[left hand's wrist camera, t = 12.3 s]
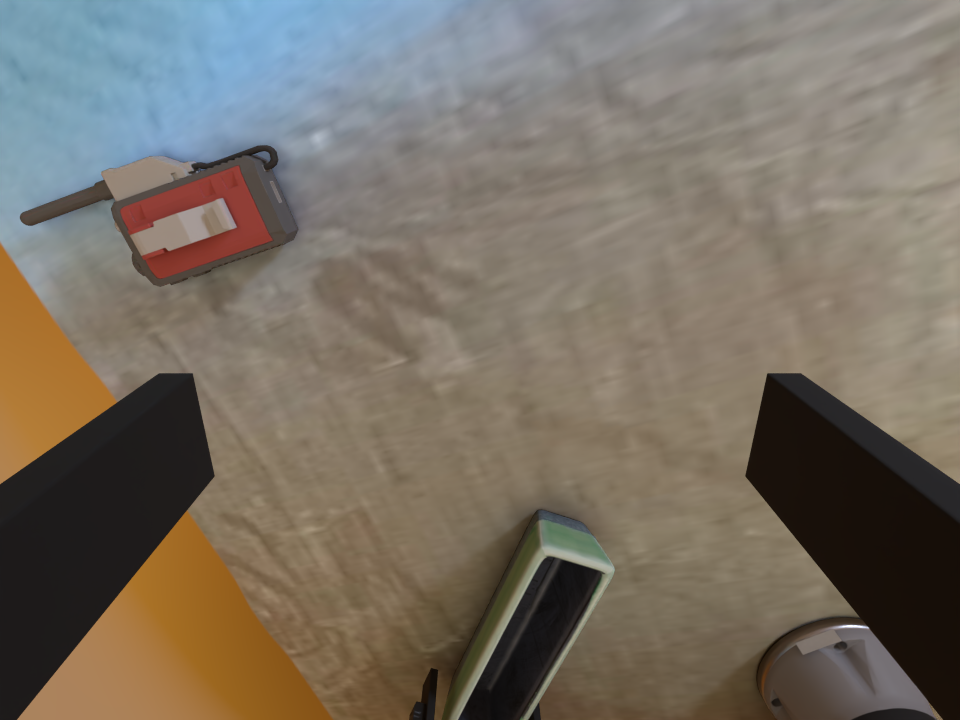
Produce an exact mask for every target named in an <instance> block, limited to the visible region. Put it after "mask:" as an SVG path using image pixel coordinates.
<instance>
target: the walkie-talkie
mask: <svg viewBox="0 0 960 720" xmlns="http://www.w3.org/2000/svg"><path fill="white" fill-rule="evenodd" d="M262 151H267V152H268V153H269V154H270V157H271V160H270V162H268V161H267V160H265V159H263V158H261V157H259V156H257V155H253V154H256V153H258V152H262ZM277 163H278V156H277V152H276V151H275V149H274V148H272V147H271V146H267V145H262V146H256V147H253V148H250V149H248V150H245V151H242V152H240V153H237V154H234V155H231V156H229V157H226V158H223V159H220V160H217V161H214V162H211V163H208V164H206V163H196V161H190V162H185V163H182V162H179V161H176V160H174V159H171V158H168V157H164V156H149V157H147V158H144V159H141V160H138V161H136V162H133V163H130V164H128V165H125V166H122V167H119V168H110V169H107V170H105V171H102V172H101V175H102V177H103V178H104V180H103V181H100V182H97V183H95V185H94V186H93V187H90V188H87V189H84V190H82V191H79V192H76V193H74V194H71V195H68V196H66V197H63V198H60V199H58V200H55V201H52V202H50V203H47V204H44V205H42V206H39V207H36V208H33V209H31V210H28V211H25V212H23V213H22V214H21V215H20V219H21V221H22V223H24V224H25V225H28V226H32V225H35V224H38V223H41V222H43V221H46V220H49V219H52V218H54V217H57V216H60V215H63V214H65V213H68V212H71V211H74V210H76V209H79V208H82V207H85V206H87V205H90V204H93V203H95V202H98V201H101V200H109V199H112V198H115V200H116V202H114V203H113V205H112V208H111V211H112V215H113V218H114V220H115V227H116V229H117V230H118V231H119V232H121V233H122V234H123V236H124V238H125V240H126V242H127V243H128V245H129V247H130V249H131V251H132V252H133V254H132V262H133V265H134V267H135V269H136V270H137V271H138V272H139V273H140V274H142V275H143V276H146V277H147V278H148V279H149V280H150V282H151V283H152V284H153V285H157V286H160V287H161V286H164V285H166V284H169V283H170V284H171V285H173V284H176V283H179V282H182V281H184V280H186V279H188V277H190V276H194V277H197V276H200V275H203V274H206V273H208V272H210V271H211V269H213V268H215V267H219V266H221V265H225V264H227V263H231V262H233V261H237V260H239V259H241V258H242V259H243V258H245V257H247V256H251V255H253V254H257V253H259V252H263V251H266V250H268V249H272V248H274V247H278V246H280V245H284V244H286V243H288V242H290V241H292V240H294V238H295V235H296V233H297V230H298V228H297V226H296V223H295V221H294V219H293V217H292V214H291V212H290V210H289V208H288V205H287V203H286V201H285V198H284V196H283V194H282V192H281V189H280V187H279V185H278V182H277V180H276V178H275V176H274V173H273V171H272V168H274V167H275V166H276V165H277ZM199 168H201V169H207V170H202V171H200V173H199V172H198V171H199V170H200V169H199Z"/></svg>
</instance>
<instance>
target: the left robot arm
mask: <svg viewBox="0 0 960 720" xmlns="http://www.w3.org/2000/svg"><path fill="white" fill-rule="evenodd" d="M213 478H214V471H213V466H212V462H211V457H210V452H209V448H208V443H207V438H206V434H205V429H204V424H203V420H202V415H201V410H200V406H199V401H198V396H197V392H196V387H195V382H194V378H193V373H159V374H158V375H156V376H155V377H153V378H152V379H150V380H149V381H148V382H146V383H145V384H143V385H142V386H140V387H139V388H137V389H136V390H135V391H133V392H132V393H130V394H129V395H127V396H126V397H125V398H123V399H122V400H120V401H119V402H117V403H116V404H115V405H113V406H112V407H110V408H109V409H108V410H106V411H105V412H103V413H102V414H100V415H99V416H97V417H96V418H95V419H93V420H92V421H90V422H89V423H87V424H86V425H85V426H83V427H82V428H80V429H79V430H77V431H76V432H74V433H73V434H72V435H70V436H69V437H67V438H66V439H64V440H63V441H62V442H60V443H59V444H57V445H56V446H54V447H53V448H52V449H50V450H49V451H47V452H46V453H44V454H43V455H42V456H40V457H39V458H37V459H36V460H34V461H33V462H31V463H30V464H29V465H27V466H26V467H24V468H23V469H21V470H20V471H19V472H17V473H16V474H14V475H13V476H11V477H10V478H9V479H7V480H6V481H4V482H3V483H1V484H0V720H17V719H18V718H19V716H20V715H21V714H22V713H23V711H24V710H25V709H26V708H27V706H28V705H29V704H30V703H31V702H32V700H33V699H34V698H35V697H36V695H37V694H38V693H39V692H40V690H41V689H42V688H43V687H44V686H45V684H46V683H47V682H48V681H49V679H50V678H51V677H52V676H53V674H54V673H55V672H56V671H57V670H58V668H59V667H60V666H61V665H62V663H63V662H64V661H65V660H66V658H67V657H68V656H69V655H70V654H71V652H72V651H73V650H74V649H75V647H76V646H77V645H78V644H79V642H80V641H81V640H82V639H83V638H84V636H85V635H86V634H87V633H88V631H89V630H90V629H91V628H92V626H93V625H94V624H95V623H96V621H97V620H98V619H99V618H100V617H101V615H102V614H103V613H104V612H105V610H106V609H107V608H108V607H109V606H110V604H111V603H112V602H113V601H114V599H115V598H116V597H117V596H118V594H119V593H120V592H121V591H122V590H123V588H124V587H125V586H126V585H127V583H128V582H129V581H130V580H131V578H132V577H133V576H134V575H135V573H136V572H137V571H138V570H139V569H140V567H141V566H142V565H143V564H144V562H145V561H146V560H147V559H148V557H149V556H150V555H151V554H152V553H153V551H154V550H155V549H156V548H157V546H158V545H159V544H160V543H161V542H162V540H163V539H164V538H165V537H166V535H167V534H168V533H169V532H170V530H171V529H172V528H173V527H174V525H175V524H176V523H177V522H178V520H179V519H180V518H181V517H182V516H183V514H184V513H185V512H186V511H187V510H188V508H189V507H190V506H191V505H192V503H193V502H194V501H195V500H196V498H197V497H198V496H199V495H200V494H201V492H202V491H203V490H204V489H205V487H206V486H207V485H208V484H209V482H210V481H211V480H212V479H213ZM746 478H747V479H748V480H749V481H750V482H751V484H752V485H753V486H754V487H755V489H756V490H757V491H758V492H759V494H760V495H761V496H762V497H763V498H764V500H765V501H766V502H767V503H768V505H769V506H770V507H771V508H772V510H773V511H774V512H775V513H776V514H777V516H778V517H779V518H780V519H781V521H782V522H783V523H784V524H785V526H786V527H787V528H788V529H789V530H790V532H791V533H792V534H793V535H794V537H795V538H796V539H797V540H798V542H799V543H800V544H801V545H802V546H803V548H804V549H805V550H806V551H807V553H808V554H809V555H810V556H811V558H812V559H813V560H814V561H815V562H816V564H817V565H818V566H819V567H820V569H821V570H822V571H823V572H824V574H825V575H826V576H827V577H828V578H829V580H830V581H831V582H832V583H833V585H834V586H835V587H836V588H837V590H838V591H839V592H840V593H841V594H842V596H843V597H844V598H845V599H846V601H847V602H848V603H849V604H850V606H851V607H852V608H853V609H854V610H855V612H856V613H857V614H858V615H859V617H860V618H861V619H862V620H863V622H864V623H865V624H866V625H867V626H868V628H869V629H870V630H871V631H872V633H873V634H874V635H875V636H876V638H877V639H878V640H879V641H880V642H881V644H882V645H883V646H884V647H885V649H886V650H887V651H888V652H889V654H890V655H891V656H892V657H893V658H894V660H895V661H896V662H897V663H898V665H899V666H900V667H901V668H902V670H903V671H904V672H905V673H906V674H907V676H908V677H909V678H910V679H911V681H912V682H913V683H914V684H915V686H916V687H917V688H918V689H919V690H920V692H921V693H922V694H923V695H924V697H925V698H926V699H927V700H928V702H929V703H930V704H931V705H932V706H933V708H934V709H935V710H936V711H937V713H938V714H939V715H940V716H941V718H942V719H943V720H960V484H959V483H957V482H956V481H954V480H953V479H951V478H950V477H949V476H947V475H946V474H944V473H943V472H941V471H940V470H939V469H937V468H936V467H934V466H933V465H931V464H930V463H929V462H927V461H926V460H924V459H923V458H921V457H920V456H918V455H917V454H916V453H914V452H913V451H911V450H910V449H908V448H907V447H906V446H904V445H903V444H901V443H900V442H898V441H897V440H896V439H894V438H893V437H891V436H890V435H888V434H887V433H886V432H884V431H883V430H881V429H880V428H878V427H877V426H876V425H874V424H873V423H871V422H870V421H868V420H867V419H865V418H864V417H863V416H861V415H860V414H858V413H857V412H855V411H854V410H853V409H851V408H850V407H848V406H847V405H845V404H844V403H843V402H841V401H840V400H838V399H837V398H835V397H834V396H833V395H831V394H830V393H828V392H827V391H825V390H824V389H822V388H821V387H820V386H818V385H817V384H815V383H814V382H812V381H811V380H810V379H808V378H807V377H805V376H804V375H802V374H801V373H767V378H766V382H765V387H764V392H763V396H762V401H761V406H760V410H759V415H758V420H757V424H756V429H755V434H754V438H753V443H752V448H751V452H750V457H749V462H748V466H747V471H746Z"/></svg>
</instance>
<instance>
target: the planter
mask: <svg viewBox="0 0 960 720" xmlns="http://www.w3.org/2000/svg"><path fill="white" fill-rule="evenodd" d="M614 572H615V569H614V567H613V564H612V563H611V561H610V559H609V558H608V556H607V555H606V553H605V552H604V551H603V549H602V548H601V546H600V545H599V544H598V542H597V541H596V539H595V538H594V537H593V535H592V534H591V533H590V531H589V530H588V529H587V527H586V526H585V525H584V524H583V523H582V522H579V521H576V520H573V519H570V518H567V517H564V516H561V515H557V514H554V513H551V512H548V511H544V510H538V511H537V512H536V513H535V514H534V516H533V518H532V520H531V521H530V523H529V525H528V527H527V529H526V531H525V533H524V535H523V537H522V539H521V541H520V543H519V545H518V547H517V549H516V551H515V553H514V555H513V557H512V559H511V561H510V563H509V565H508V567H507V569H506V571H505V573H504V575H503V577H502V579H501V581H500V583H499V585H498V587H497V589H496V591H495V593H494V595H493V597H492V599H491V601H490V603H489V605H488V607H487V609H486V611H485V613H484V615H483V617H482V619H481V621H480V623H479V625H478V627H477V629H476V631H475V633H474V635H473V637H472V639H471V641H470V643H469V645H468V647H467V649H466V651H465V653H464V656H463V658H462V660H461V662H460V664H459V666H458V668H457V670H456V672H455V674H454V676H453V679H452V682H451V685H450V689H449V693H448V697H447V701H446V705H445V709H444V713H443V717H442V720H528V719H529V717H530V716H531V714H532V712H533V711H534V709H535V707H536V706H537V704H538V702H539V701H540V699H541V697H542V696H543V694H544V692H545V691H546V689H547V687H548V686H549V684H550V682H551V681H552V679H553V677H554V676H555V674H556V672H557V671H558V669H559V667H560V666H561V664H562V662H563V660H564V659H565V657H566V655H567V654H568V652H569V650H570V649H571V647H572V645H573V644H574V642H575V640H576V639H577V637H578V635H579V634H580V632H581V630H582V628H583V627H584V625H585V623H586V622H587V620H588V618H589V617H590V615H591V613H592V612H593V610H594V608H595V606H596V605H597V603H598V601H599V600H600V598H601V596H602V594H603V593H604V591H605V589H606V588H607V586H608V584H609V582H610V580H611V578H612V577H613V574H614Z"/></svg>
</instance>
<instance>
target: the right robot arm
mask: <svg viewBox="0 0 960 720" xmlns="http://www.w3.org/2000/svg"><path fill="white" fill-rule="evenodd" d="M437 677H438V670H437V669H433V668H431V669H430V672H429V674H428V676H427V678H426V680H425V682H424V684H423V690H422V700H421V702H416V704H415V705H414V707H413V710H412V712H411V714H410V718H409V720H434V714H435V701H436V689H437ZM757 684H758V689H759V691H760V693H761V695H762V697H763V699H764V701H765V703H766V705H767V707H768V708H769V710H770V711H771V712H772V714H773V715H774V717H775V718H776V719H777V720H937V719H936V718H935V716H934V714H933V712H932V710H931V708H930V705H929V703H928V701H927V699H926V698H925V697H924V695H923V694H922V693H921V692H920V690H919V689H918V688H917V687H916V686H915V684H914V683H913V682H912V681H911V679H910V678H909V677H908V676H907V674H906V673H905V672H904V671H903V670H902V668H901V667H900V666H899V665H898V663H897V662H896V661H895V660H894V658H893V657H892V656H891V655H890V654H889V652H888V651H887V650H886V649H885V647H884V646H883V645H882V644H881V642H880V641H879V640H878V639H877V638H876V636H875V635H874V634H873V633H872V631H871V630H870V629H869V628H868V626H867V625H866V624H865V623H864V622H863V620H862V619H857V618H832V619H825V620H821V621H817V622H814V623H810V624H808V625H805V626H803V627H800V628H798V629H796V630H794V631H792V632H791V633H789V634H787V635H786V636H784V637H783V638H782V639H780V640H779V641H778V642H777V643H776V644H774V645H773V646H772V647H771V648H770V650H769V651H768V652H767V653H766V655H765V656H764V658H763V660H762V661H761V663H760V666H759V669H758V673H757ZM528 720H541V717H540V708H539V702H538V704H537V706H536V707H535V709H534V711H533V712H532V714H531V716H530V717H529V719H528Z"/></svg>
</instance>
